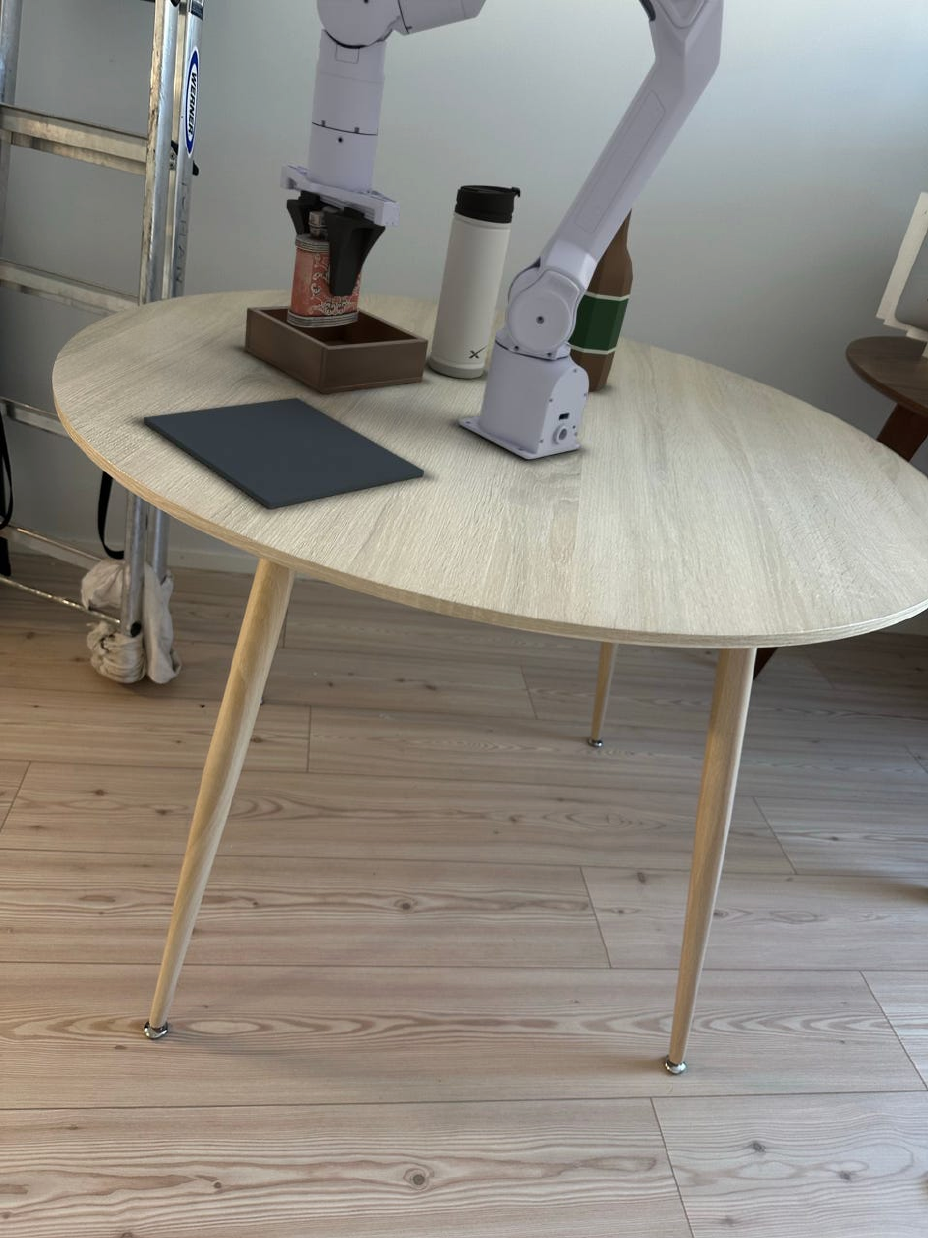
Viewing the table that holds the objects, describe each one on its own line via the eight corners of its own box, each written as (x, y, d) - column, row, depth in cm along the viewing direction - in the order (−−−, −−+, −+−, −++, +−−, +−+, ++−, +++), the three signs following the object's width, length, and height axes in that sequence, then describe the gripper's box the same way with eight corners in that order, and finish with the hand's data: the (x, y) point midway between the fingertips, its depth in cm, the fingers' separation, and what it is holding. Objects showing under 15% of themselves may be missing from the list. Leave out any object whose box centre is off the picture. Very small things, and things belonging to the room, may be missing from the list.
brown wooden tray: (422, 381, 107) (428, 340, 105) (323, 393, 98) (328, 349, 95) (343, 341, 114) (347, 302, 112) (244, 349, 105) (246, 307, 103)
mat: (423, 475, 85) (424, 470, 84) (269, 509, 74) (269, 503, 73) (296, 402, 94) (296, 397, 94) (143, 422, 83) (143, 416, 83)
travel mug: (485, 383, 110) (522, 193, 100) (427, 372, 110) (458, 180, 100) (485, 367, 116) (520, 185, 106) (430, 357, 115) (460, 173, 105)
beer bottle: (604, 378, 121) (659, 167, 109) (606, 396, 114) (664, 174, 102) (542, 365, 121) (590, 153, 109) (541, 383, 114) (591, 159, 102)
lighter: (303, 329, 89) (316, 214, 84) (278, 317, 91) (289, 203, 86) (365, 321, 95) (381, 213, 90) (340, 310, 97) (354, 203, 92)
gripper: (257, 108, 86) (246, 267, 93) (362, 142, 78) (342, 313, 85) (321, 115, 91) (307, 266, 98) (427, 148, 83) (403, 310, 90)
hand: (327, 288), depth 92 cm, fingers closed on lighter, 3 cm apart
